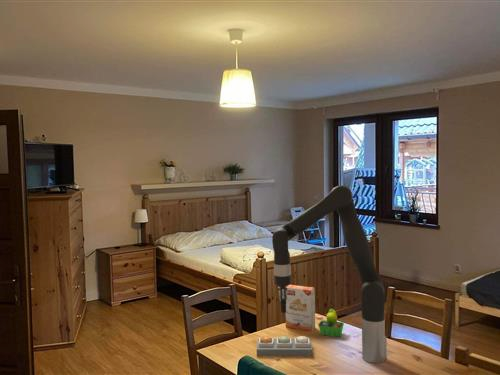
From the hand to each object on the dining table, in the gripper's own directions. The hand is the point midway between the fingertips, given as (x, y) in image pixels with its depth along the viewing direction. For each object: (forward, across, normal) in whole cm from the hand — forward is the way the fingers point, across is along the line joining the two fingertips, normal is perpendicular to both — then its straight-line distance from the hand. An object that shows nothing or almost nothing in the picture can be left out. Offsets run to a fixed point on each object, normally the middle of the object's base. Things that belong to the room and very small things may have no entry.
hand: (283, 312), depth 196 cm
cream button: (+14, 0, -8) cm, 16 cm away
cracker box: (+18, +28, -8) cm, 34 cm away
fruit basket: (+18, +20, -23) cm, 35 cm away
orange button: (+14, 0, +8) cm, 16 cm away
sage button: (+14, 0, 0) cm, 14 cm away
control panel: (+17, 0, 0) cm, 17 cm away
